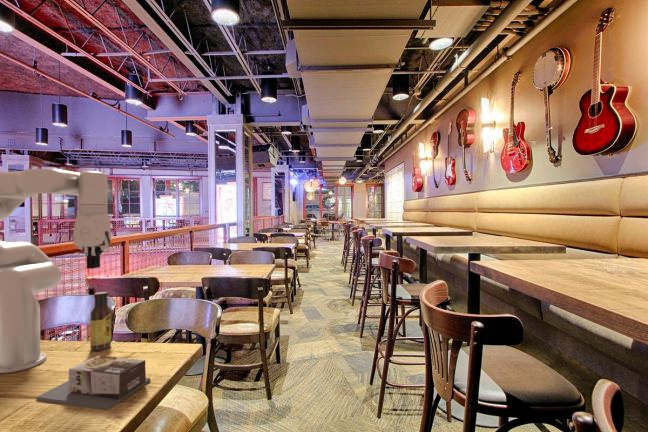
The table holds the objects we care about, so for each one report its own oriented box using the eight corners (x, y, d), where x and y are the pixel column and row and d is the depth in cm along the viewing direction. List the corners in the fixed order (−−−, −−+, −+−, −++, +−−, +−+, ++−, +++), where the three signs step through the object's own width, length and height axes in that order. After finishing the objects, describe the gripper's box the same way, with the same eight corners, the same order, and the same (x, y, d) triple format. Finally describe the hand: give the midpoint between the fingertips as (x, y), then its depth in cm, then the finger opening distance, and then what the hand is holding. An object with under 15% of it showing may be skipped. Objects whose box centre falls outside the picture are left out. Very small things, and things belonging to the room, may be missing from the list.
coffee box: (67, 393, 84) (118, 400, 80) (68, 368, 84) (119, 374, 80) (99, 376, 93) (146, 382, 89) (99, 354, 93) (146, 359, 89)
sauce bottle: (110, 349, 114) (110, 293, 114) (89, 352, 111) (88, 295, 111) (112, 343, 119) (111, 290, 120) (91, 346, 116) (91, 292, 116)
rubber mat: (36, 400, 82) (36, 396, 82) (87, 373, 96) (87, 371, 96) (108, 409, 78) (108, 406, 78) (150, 380, 91) (150, 378, 91)
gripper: (62, 210, 99) (62, 269, 99) (102, 210, 96) (102, 270, 96) (85, 211, 107) (85, 265, 107) (122, 210, 104) (123, 266, 104)
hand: (93, 267), depth 102 cm, fingers closed
